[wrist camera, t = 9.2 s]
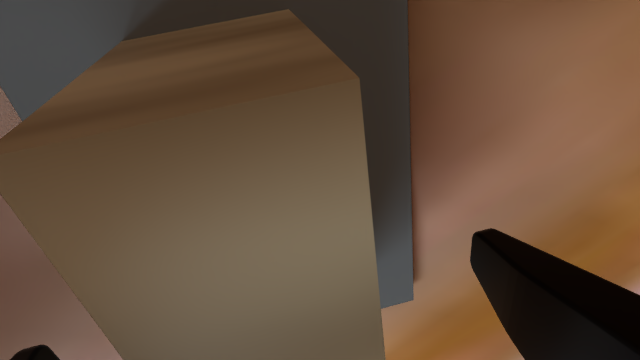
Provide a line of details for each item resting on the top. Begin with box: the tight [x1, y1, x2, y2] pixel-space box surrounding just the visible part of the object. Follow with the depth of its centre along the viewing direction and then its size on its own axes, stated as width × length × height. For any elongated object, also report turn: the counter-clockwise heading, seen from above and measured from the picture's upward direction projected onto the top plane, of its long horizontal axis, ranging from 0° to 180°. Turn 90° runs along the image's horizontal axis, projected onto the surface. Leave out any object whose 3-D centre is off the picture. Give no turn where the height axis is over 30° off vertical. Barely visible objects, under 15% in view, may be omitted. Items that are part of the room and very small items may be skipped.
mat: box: [0, 0, 413, 309], centre depth 12 cm, size 14×10×1 cm
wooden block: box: [0, 9, 385, 360], centre depth 9 cm, size 10×4×6 cm, turn 9°
